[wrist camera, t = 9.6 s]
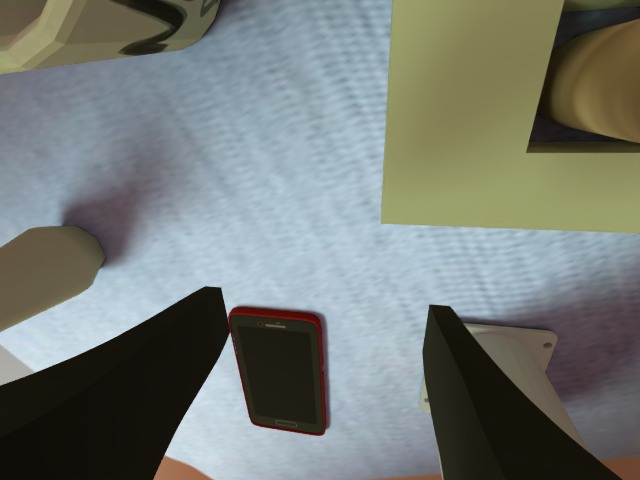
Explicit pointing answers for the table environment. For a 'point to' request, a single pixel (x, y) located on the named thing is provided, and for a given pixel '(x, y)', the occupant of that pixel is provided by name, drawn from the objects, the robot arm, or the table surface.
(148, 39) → the mug
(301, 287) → the table surface
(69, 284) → the salt shaker
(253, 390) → the cell phone
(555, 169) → the hole board
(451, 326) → the robot arm
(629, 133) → the tall peg
